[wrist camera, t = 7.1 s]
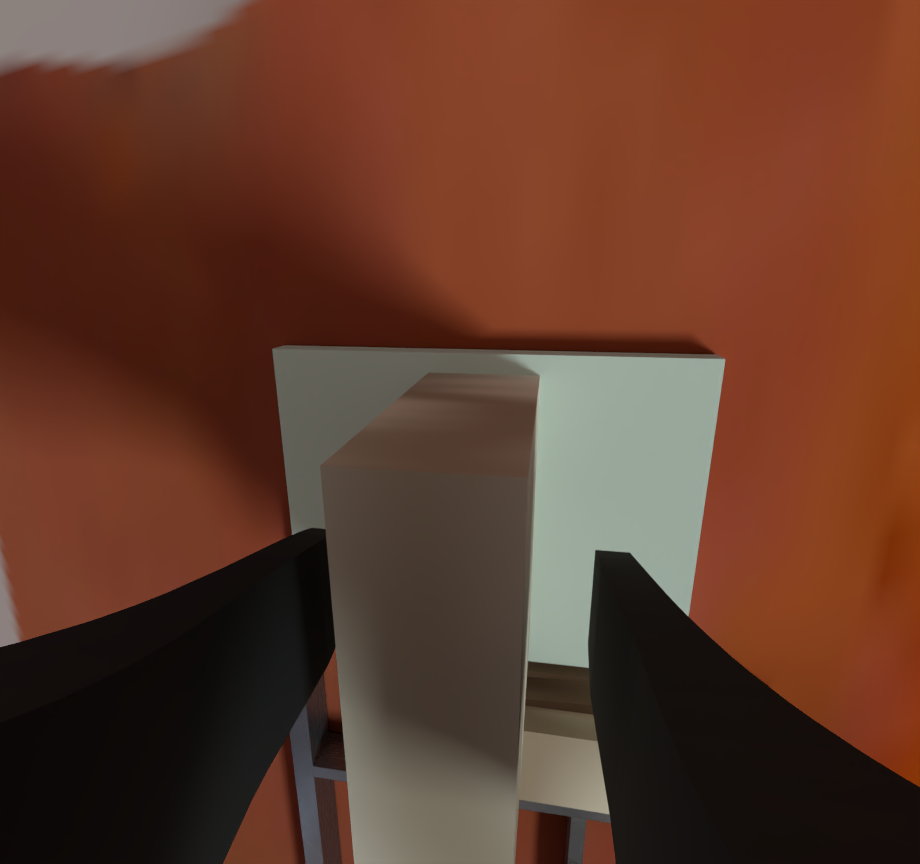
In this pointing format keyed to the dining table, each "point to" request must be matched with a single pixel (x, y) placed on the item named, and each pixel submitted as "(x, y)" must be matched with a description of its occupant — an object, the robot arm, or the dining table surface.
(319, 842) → the metal rack
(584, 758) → the offcut stack
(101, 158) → the dining table surface
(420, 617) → the tall beige block
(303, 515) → the sage mat
